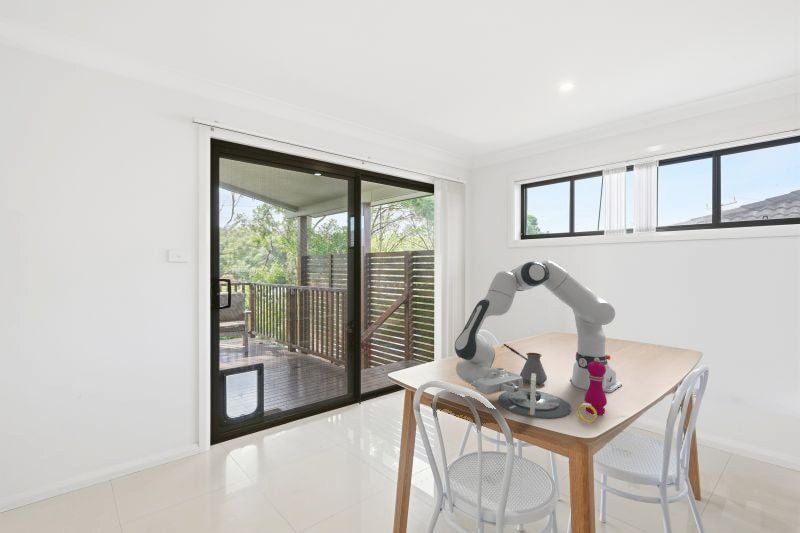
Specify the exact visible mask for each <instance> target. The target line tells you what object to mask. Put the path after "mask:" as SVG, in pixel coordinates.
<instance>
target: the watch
mask: <svg viewBox="0 0 800 533" xmlns="http://www.w3.org/2000/svg"><path fill="white" fill-rule="evenodd" d="M582 407H583V408H586V407H590V408H591V409H592V410H593V412H594V414H595V415H594V418H593V419H592V420H590V422H591V423H594V422H595V421H596V420H597V417H598V415H597V412H596V410H595V409H594V408H593V407H592V405H591V404H590V403H586V402H583V403H582V404H580V405H579V407H578V408H577V416H578V417H579V418H580V420H581V421H583V420H585V421H584V422H587V421H589V419H587V418H584V417H583V416H582V415H581V412H580V411H581V408H582ZM590 422H589V423H590Z"/></svg>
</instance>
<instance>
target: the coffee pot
mask: <svg viewBox="0 0 800 533" xmlns="http://www.w3.org/2000/svg"><path fill="white" fill-rule="evenodd" d="M505 347H506V349H508V350H510V351H511V352H513V353H514V354H516V355H518V356H519V357H521V358H522V359H524V360H525V363H524V365H523V368H522V369H521V372H520V374H519V375H520V376H522V378H523V383H524V384H526V385H529V386H531V375H532V373H534V374H536V386H541V385H543V384H544V383H546V382H547V379H548V376H547V373H546V371H545V369H544V367H543V364H542V361H541V360H540V359H541V357H542V354H541V353H537V352H526V354H525V355H526V356H527V357H526V356H524V355H523V354H521V353H520V352H518V351H517V350H515V349H514V348H513V347H511V346H509V345H508V344H505V343H503V345H502V346H501V348H505Z"/></svg>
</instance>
